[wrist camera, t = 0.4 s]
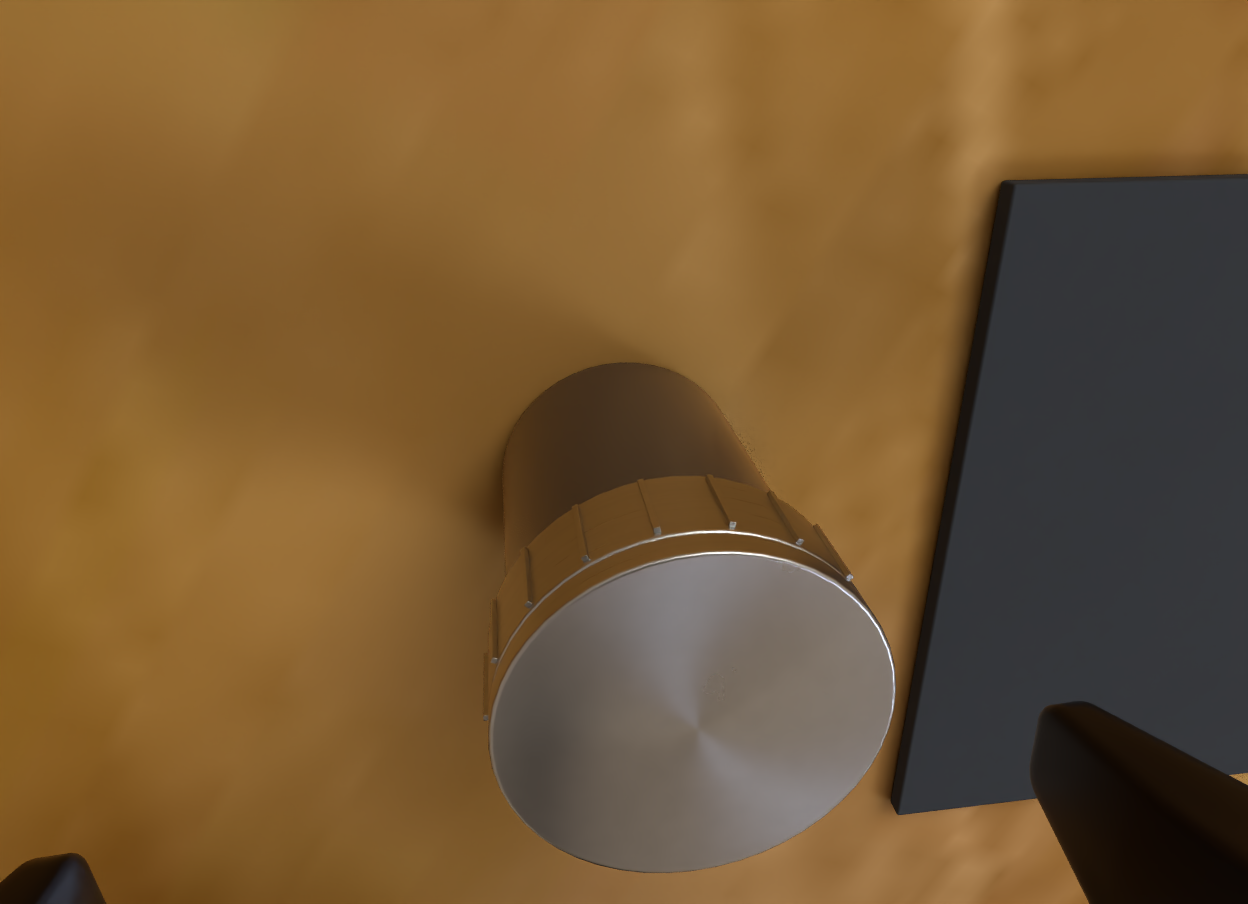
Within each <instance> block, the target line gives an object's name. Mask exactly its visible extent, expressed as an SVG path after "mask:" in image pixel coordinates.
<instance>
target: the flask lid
mask: <svg viewBox="0 0 1248 904" xmlns="http://www.w3.org/2000/svg"><path fill="white" fill-rule="evenodd" d="M520 551H521V555H520V556H519V558H518V559H517V560H516V562H515V563H514V565H513V566H512V568H511V569H510V571H509V572H508V574H507V576H506V578H505V580H504V582H503V584H502V586H501V588H500V590H499V592H498V595H497V598H496V599H492V600H491V603H490V626H489V633H488V653H484V703H483V717H484V721H487V720H488V746H489V753H490V759H491V764H492V769H493V772H494V774H495V777H496V780H497V782H498V785H499V788H500V789H501V791H502V793H503V795H504V796H505V798H506V800H507V801H508V803H509V805H510V806H511V808H512V809H513V810H514V811H515V813H516V814H517V815H518V816H519V817H520V819H521V820H522V821H523V822H524V823H525V824H526V825H527V826H528V827H529V828H530V829H532V830H533V831H534V832H535V833H536V834H537V835H538V836H539V837H541V838H542V839H544V840H545V841H547V842H549V843H550V844H552V845H553V846H555V847H556V848H558V849H560V850H562V851H564V852H566V853H568V854H570V855H572V856H574V857H576V858H579V859H582V860H585V861H588V862H591V863H594V864H597V865H600V866H605V867H609V868H614V869H618V870H625V871H634V872H643V873H674V872H686V871H695V870H701V869H707V868H712V867H717V866H721V865H725V864H729V863H732V862H736V861H740V860H743V859H745V858H748V857H751V856H754V855H756V854H759V853H762V852H764V851H766V850H768V849H771V848H773V847H775V846H777V845H779V844H781V843H783V842H785V841H787V840H789V839H790V838H792V837H794V836H796V835H797V834H799V833H801V832H802V831H804V830H806V829H807V828H809V827H810V826H811V825H813V824H814V823H816V822H817V821H818V820H820V819H821V818H823V817H824V816H825V815H826V814H827V813H829V812H830V811H831V810H832V809H833V808H834V807H835V806H837V805H838V804H839V803H840V802H841V801H842V800H843V799H844V798H845V797H846V796H847V795H848V794H849V793H850V792H851V790H852V789H853V788H854V787H855V786H856V785H857V784H858V783H859V781H860V780H861V779H862V777H863V776H864V774H865V773H866V772H867V770H868V769H869V768H870V766H871V765H872V763H873V761H874V759H875V758H876V756H877V754H878V752H879V751H880V749H881V747H882V744H883V742H884V739H885V737H886V735H887V732H888V730H889V727H890V723H891V719H892V715H893V711H894V705H895V694H896V678H895V665H894V661H893V657H892V653H891V649H890V645H889V643H888V640H887V638H886V636H885V634H884V631H883V629H882V627H881V625H880V624H879V622H878V620H877V619H876V617H875V616H874V614H873V613H872V611H871V610H870V608H869V607H868V605H867V604H866V602H865V601H864V599H863V598H862V596H861V595H860V593H859V592H858V590H857V589H856V587H855V586H854V584H853V583H852V581H851V579H852V578H854V577H853V576H852V574H851V573H850V571H849V570H848V568H847V567H846V565H845V564H844V562H843V561H842V559H841V558H840V556H839V555H838V553H837V552H836V550H835V549H834V547H833V546H832V544H831V543H830V541H829V540H828V538H827V537H826V536H825V534H824V533H823V531H822V530H821V528H820V527H819V526H818V524H816V525H814V526H812V525H811V524H810V522H809V521H808V520H807V519H806V518H805V517H804V516H803V515H801V514H800V513H799V512H797V511H796V510H795V509H794V508H792V507H791V506H790V505H788V504H787V503H785V502H784V501H782V500H780V499H778V498H777V496H776V495H775V493H774V492H772V491H770V490H769V491H768V493H767V492H765V491H762V490H760V489H757V488H755V487H752V486H749V485H747V484H743V483H739V482H735V481H731V480H726V479H722V478H714V477H713V475H709V474H707V475H706V477H704V476H670V477H662V478H654V479H647V480H643V479H639V480H637V482H635V483H631V484H627V485H623V486H620V487H618V488H615V489H612V490H610V491H607V492H604V493H602V494H599V495H597V496H595V497H593V498H591V499H589V500H587V501H585V502H583V503H581V504H579V505H578V504H575V505H574V506H572V509H571V510H570V511H568V512H567V513H565V514H564V515H562V516H561V517H559V518H558V519H556V520H555V521H554V522H553V523H552V524H550V525H549V526H548V527H547V528H546V529H545V530H543V531H542V532H541V533H540V534H539V535H538V536H537V537H536V538H535V539H534V540H533V541H532V542H531V543H530V545H529V546H528V547H527V548H526V547H525V546H524V547H523V548H522V549H521V550H520Z"/></svg>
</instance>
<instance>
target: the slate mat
mask: <svg viewBox="0 0 1248 904" xmlns="http://www.w3.org/2000/svg"><path fill="white" fill-rule="evenodd" d="M1074 701H1086V702H1089V703H1091V704H1094V705H1096V706H1098V707H1100V708H1102V709H1103V710H1105V711H1107V712H1109V713H1111V714H1113V715H1115V716H1117V717H1119V718H1121V719H1122V720H1124V721H1126V722H1128V723H1130V724H1132V725H1134V726H1136V727H1138V728H1140V729H1141V730H1143V731H1145V732H1147V733H1149V734H1151V735H1153V736H1155V737H1157V738H1159V739H1160V740H1162V741H1164V742H1166V743H1168V744H1170V745H1172V746H1174V747H1176V748H1178V749H1179V750H1181V751H1183V752H1185V753H1187V754H1189V755H1191V756H1193V757H1195V758H1197V759H1199V760H1200V761H1202V762H1204V763H1206V764H1208V765H1210V766H1212V767H1214V768H1216V769H1218V770H1219V771H1221V772H1223V773H1225V774H1227V775H1233V774H1241V773H1248V174H1237V175H1198V176H1160V177H1121V178H1083V179H1044V180H1006V181H1003V182H1002V184H1001V189H1000V195H999V200H998V206H997V211H996V217H995V223H994V228H993V234H992V239H991V245H990V250H989V256H988V262H987V267H986V273H985V278H984V284H983V290H982V295H981V301H980V306H979V312H978V317H977V323H976V329H975V334H974V340H973V345H972V351H971V356H970V362H969V368H968V373H967V379H966V384H965V390H964V396H963V401H962V407H961V412H960V418H959V423H958V429H957V435H956V440H955V446H954V451H953V457H952V463H951V468H950V474H949V479H948V485H947V490H946V496H945V502H944V507H943V513H942V518H941V524H940V529H939V535H938V541H937V546H936V552H935V557H934V563H933V569H932V574H931V580H930V585H929V591H928V596H927V602H926V608H925V613H924V619H923V624H922V630H921V636H920V641H919V647H918V652H917V658H916V663H915V669H914V675H913V680H912V686H911V691H910V697H909V702H908V708H907V714H906V719H905V725H904V730H903V736H902V742H901V747H900V753H899V758H898V764H897V769H896V775H895V781H894V786H893V792H892V797H891V803H892V805H893V807H894V809H895V811H896V813H897V814H898V815H904V814H912V813H920V812H928V811H937V810H945V809H953V808H961V807H970V806H978V805H986V804H994V803H1003V802H1011V801H1019V800H1027V799H1035V798H1037V797H1036V795H1035V792H1034V790H1033V787H1032V784H1031V779H1030V770H1029V768H1030V760H1031V755H1032V750H1033V745H1034V739H1035V734H1036V729H1037V724H1038V718H1039V715H1040V713H1041V711H1042V710H1043V709H1044V708H1045V707H1047V706H1049V705H1054V704H1061V703H1067V702H1074Z"/></svg>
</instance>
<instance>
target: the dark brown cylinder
mask: <svg viewBox="0 0 1248 904" xmlns="http://www.w3.org/2000/svg"><path fill="white" fill-rule="evenodd" d="M707 474H709V475H713V477H714V478H722V479H726V480H731V481H735V482H739V483H743V484H747V485H749V486H752V487H755V488H757V489H760V490H762V491H765V492H767V493H768V491H769V490H770V488H769V487H768V485H767V483H766V482H765V480H764V479H763V477H762V475H761V474H760V472H759V471H758V469H757V467H756V466H755V464H754V463H753V461H752V459H751V458H750V456H749V455H748V453H747V451H746V450H745V448H744V447H743V445H742V443H741V442H740V440H739V438H738V437H737V435H736V434H735V432H734V430H733V429H732V427H731V426H730V424H729V422H728V421H727V419H726V418H725V416H724V414H723V413H722V411H721V410H720V409H719V407H718V406H717V404H716V403H715V402H714V400H713V399H712V398H711V397H710V396H709V395H708V394H707V393H706V392H705V391H704V390H703V389H701V388H700V387H699V386H698V385H696V384H695V383H694V382H692V381H690V380H689V379H687V378H685V377H684V376H682V375H680V374H678V373H675V372H673V371H671V370H668V369H665V368H661V367H658V366H654V365H649V364H641V363H613V364H604V365H600V366H596V367H592V368H588V369H585V370H582V371H580V372H577V373H574V374H572V375H570V376H568V377H566V378H565V379H563V380H561V381H559V382H557V383H556V384H554V385H553V386H552V387H550V388H549V389H547V390H546V391H545V392H543V393H542V394H541V395H540V396H539V397H538V398H537V399H536V400H535V401H534V402H533V403H532V404H531V405H530V406H529V407H528V409H527V410H526V411H525V412H524V413H523V415H522V416H521V418H520V419H519V421H518V423H517V424H516V426H515V428H514V430H513V432H512V434H511V436H510V438H509V441H508V444H507V447H506V451H505V454H504V461H503V468H502V484H503V516H504V549H505V578H506V576H507V574H508V572H509V571H510V569H511V568H512V566H513V565H514V563H515V562H516V560H517V559H518V558H519V556H520V555H521V551H520V550H521V549H522V548H523V547H524V546H525V547H526V548H527V547H528V546H529V545H530V543H531V542H532V541H533V540H534V539H535V538H536V537H537V536H538V535H539V534H540V533H541V532H542V531H543V530H545V529H546V528H547V527H548V526H549V525H550V524H552V523H553V522H554V521H555V520H556V519H558V518H559V517H561V516H562V515H564V514H565V513H567V512H568V511H570V510H571V509H572V506H574V505H575V504H578V505H579V504H581V503H583V502H585V501H587V500H589V499H591V498H593V497H595V496H597V495H599V494H602V493H604V492H607V491H610V490H612V489H615V488H618V487H620V486H623V485H627V484H631V483H635V482H637V480H639V479H643V480H647V479H654V478H662V477H670V476H704V477H706V475H707ZM770 491H771V490H770Z"/></svg>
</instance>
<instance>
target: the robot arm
mask: <svg viewBox="0 0 1248 904" xmlns="http://www.w3.org/2000/svg"><path fill="white" fill-rule="evenodd" d="M1029 770H1030V779H1031V784H1032V787H1033V790H1034V792H1035V795H1036V797H1037V799H1038V801H1039V803H1040V805H1041V807H1042V809H1043V811H1044V813H1045V815H1046V817H1047V819H1048V821H1049V823H1050V825H1051V827H1052V829H1053V831H1054V833H1055V835H1056V837H1057V839H1058V841H1059V843H1060V845H1061V847H1062V849H1063V851H1064V853H1065V855H1066V857H1067V859H1068V861H1069V863H1070V865H1071V867H1072V869H1073V871H1074V873H1075V875H1076V877H1077V880H1078V882H1079V884H1080V886H1081V888H1082V890H1083V892H1084V894H1085V896H1086V898H1087V900H1088V902H1089V904H1248V785H1246V784H1244V783H1242V782H1240V781H1238V780H1237V779H1235V778H1233V777H1231V776H1229V775H1227V774H1225V773H1223V772H1221V771H1219V770H1218V769H1216V768H1214V767H1212V766H1210V765H1208V764H1206V763H1204V762H1202V761H1200V760H1199V759H1197V758H1195V757H1193V756H1191V755H1189V754H1187V753H1185V752H1183V751H1181V750H1179V749H1178V748H1176V747H1174V746H1172V745H1170V744H1168V743H1166V742H1164V741H1162V740H1160V739H1159V738H1157V737H1155V736H1153V735H1151V734H1149V733H1147V732H1145V731H1143V730H1141V729H1140V728H1138V727H1136V726H1134V725H1132V724H1130V723H1128V722H1126V721H1124V720H1122V719H1121V718H1119V717H1117V716H1115V715H1113V714H1111V713H1109V712H1107V711H1105V710H1103V709H1102V708H1100V707H1098V706H1096V705H1094V704H1091V703H1089V702H1086V701H1074V702H1067V703H1061V704H1054V705H1049V706H1047V707H1045V708H1044V709H1043V710H1042V711H1041V713H1040V715H1039V718H1038V724H1037V729H1036V734H1035V739H1034V745H1033V750H1032V755H1031V760H1030V768H1029ZM0 904H106V902H105V900H104V898H103V896H102V893H101V891H100V889H99V887H98V885H97V883H96V880H95V878H94V876H93V874H92V872H91V870H90V867H89V865H88V863H87V862H86V860H85V858H83V857H82V856H80V855H79V854H75V853H68V854H61V855H54V856H48V857H41V858H35V859H32V860H29V861H27V862H25V863H23V864H22V865H21V866H19V867H18V868H17V869H15V870H14V871H13V872H12V873H11V874H10V875H9V876H7V877H6V878H5V879H4V880H3V881H2V882H1V883H0Z"/></svg>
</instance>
